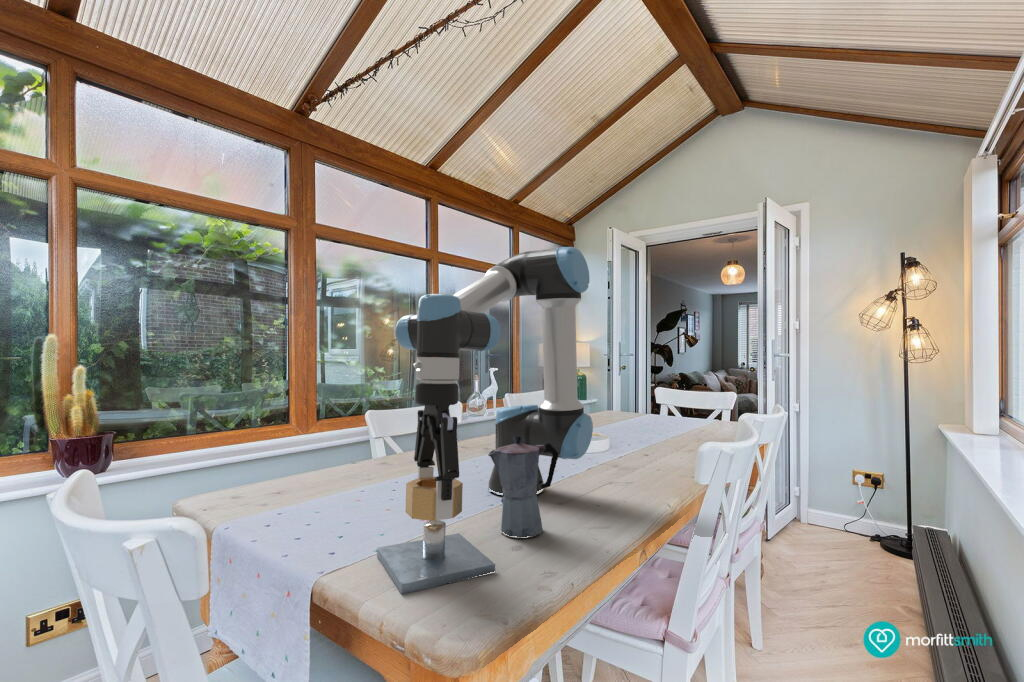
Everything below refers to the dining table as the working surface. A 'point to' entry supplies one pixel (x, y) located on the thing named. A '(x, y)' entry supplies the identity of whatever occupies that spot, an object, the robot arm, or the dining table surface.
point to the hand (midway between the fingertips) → (433, 510)
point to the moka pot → (521, 485)
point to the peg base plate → (433, 560)
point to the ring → (429, 498)
